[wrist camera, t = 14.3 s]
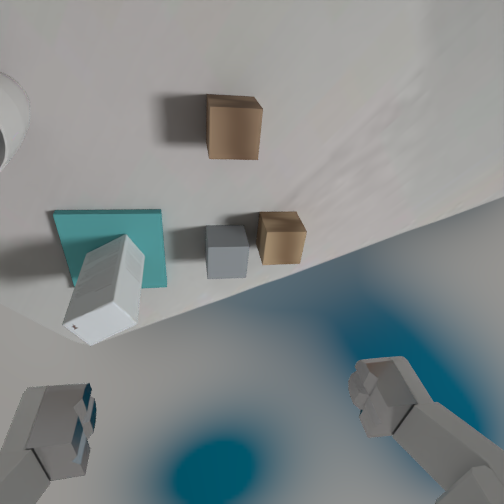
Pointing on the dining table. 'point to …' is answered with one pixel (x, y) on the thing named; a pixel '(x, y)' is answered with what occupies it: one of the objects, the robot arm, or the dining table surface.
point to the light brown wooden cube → (280, 238)
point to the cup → (12, 118)
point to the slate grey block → (226, 251)
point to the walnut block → (233, 127)
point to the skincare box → (106, 292)
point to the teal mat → (113, 238)
